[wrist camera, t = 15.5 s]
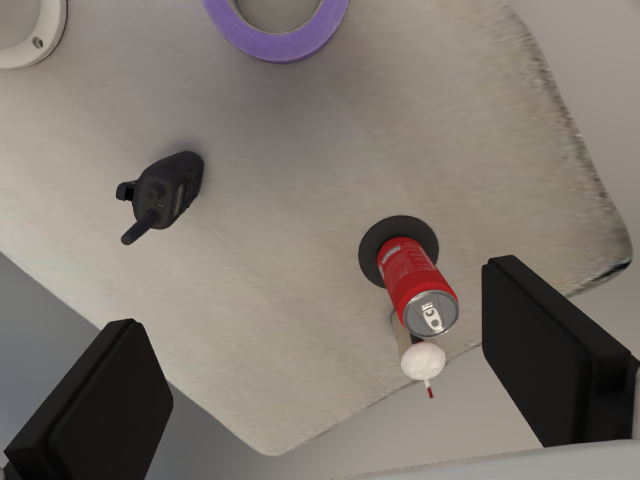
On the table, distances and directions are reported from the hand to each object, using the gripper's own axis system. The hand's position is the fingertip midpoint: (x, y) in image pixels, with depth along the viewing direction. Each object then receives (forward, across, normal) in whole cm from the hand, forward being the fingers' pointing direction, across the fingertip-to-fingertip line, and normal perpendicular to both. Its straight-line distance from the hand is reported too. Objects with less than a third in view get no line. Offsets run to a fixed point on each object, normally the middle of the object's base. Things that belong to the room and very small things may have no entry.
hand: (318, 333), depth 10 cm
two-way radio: (+31, +13, 0) cm, 33 cm away
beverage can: (+30, -8, +13) cm, 34 cm away
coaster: (+30, -8, +13) cm, 34 cm away
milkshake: (+31, -8, +22) cm, 38 cm away
